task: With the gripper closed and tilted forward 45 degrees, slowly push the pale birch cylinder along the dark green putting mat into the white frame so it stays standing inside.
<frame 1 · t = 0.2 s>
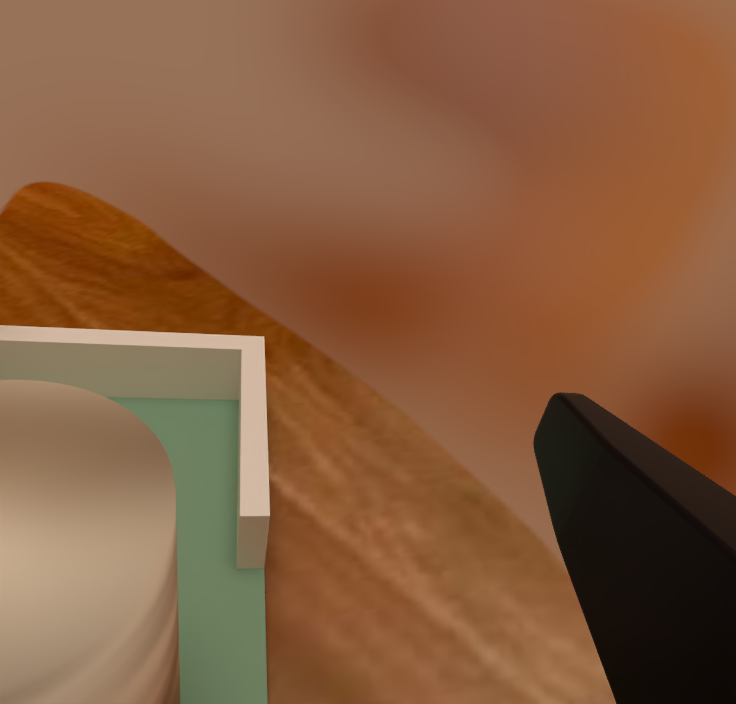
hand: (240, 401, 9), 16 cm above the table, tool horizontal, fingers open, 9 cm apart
putting mat: (91, 589, 24), on the table
white frame: (111, 490, 27), resting on putting mat
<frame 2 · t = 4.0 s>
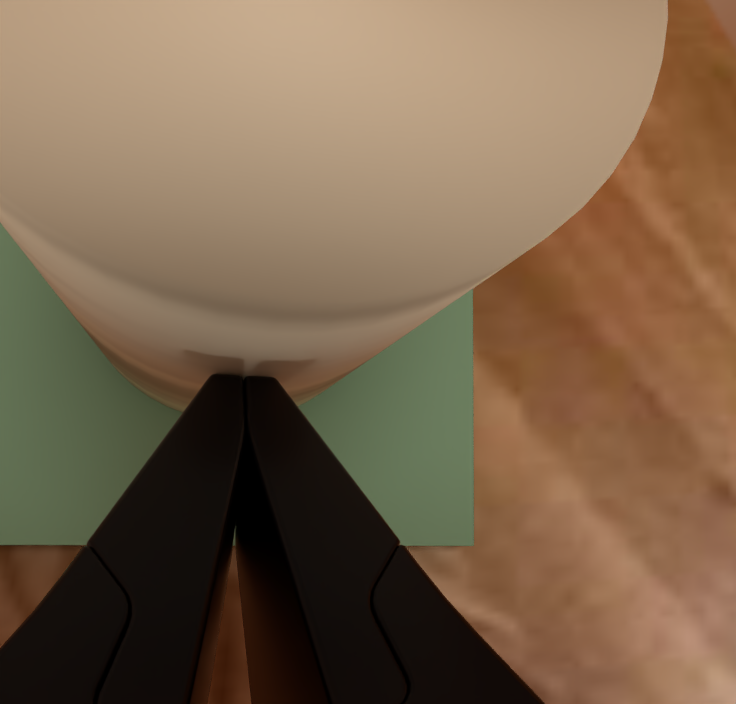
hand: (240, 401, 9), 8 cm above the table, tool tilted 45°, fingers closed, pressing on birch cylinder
putting mat: (248, 115, 18), on the table
birch cylinder: (235, 274, 16), point 1 cm above the table, touching gripper
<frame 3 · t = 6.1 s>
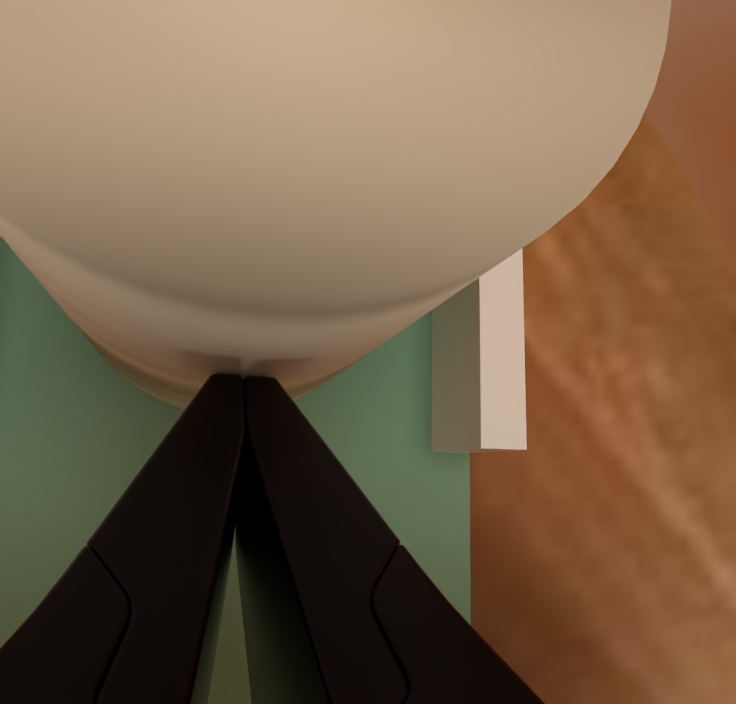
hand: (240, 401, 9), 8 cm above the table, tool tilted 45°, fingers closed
putting mat: (220, 447, 16), on the table
birch cylinder: (230, 268, 16), point 1 cm above the table, touching gripper, putting mat
white frame: (230, 267, 17), resting on putting mat
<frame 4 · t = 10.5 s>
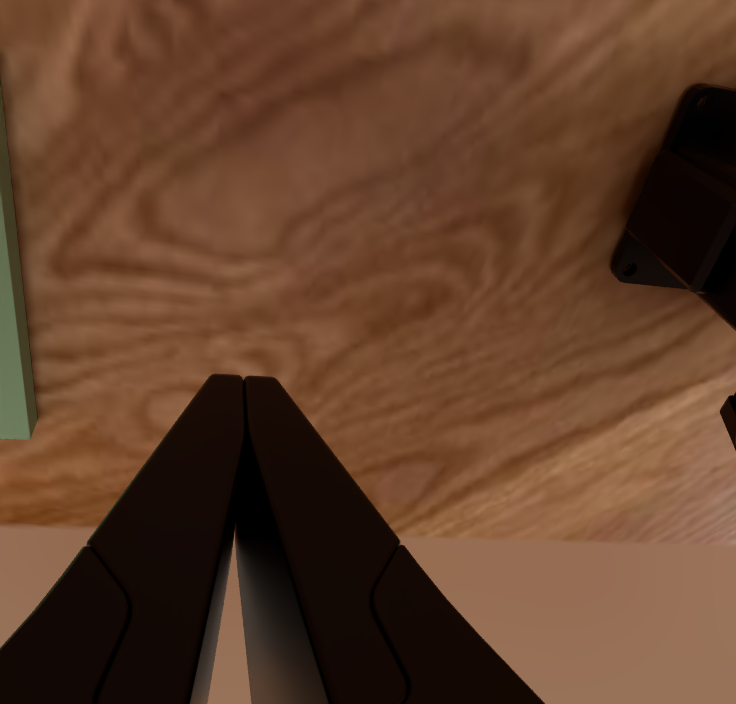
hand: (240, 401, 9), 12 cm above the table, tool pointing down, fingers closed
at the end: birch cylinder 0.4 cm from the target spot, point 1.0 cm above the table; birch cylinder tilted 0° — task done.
